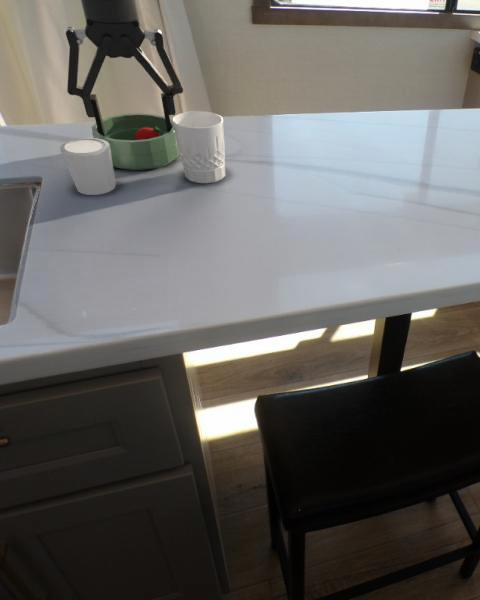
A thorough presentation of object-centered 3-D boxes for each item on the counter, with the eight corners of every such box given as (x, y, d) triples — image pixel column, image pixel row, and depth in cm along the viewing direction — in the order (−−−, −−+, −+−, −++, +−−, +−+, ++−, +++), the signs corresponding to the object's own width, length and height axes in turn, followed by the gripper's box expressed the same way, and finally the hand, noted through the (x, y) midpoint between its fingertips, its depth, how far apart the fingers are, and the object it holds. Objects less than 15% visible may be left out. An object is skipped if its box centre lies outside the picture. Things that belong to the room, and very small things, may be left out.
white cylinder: (126, 190, 85) (116, 149, 81) (81, 200, 81) (68, 158, 77) (110, 174, 89) (100, 134, 84) (66, 183, 85) (53, 142, 80)
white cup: (204, 189, 88) (195, 131, 82) (171, 175, 91) (161, 118, 84) (238, 175, 93) (233, 119, 87) (207, 162, 96) (199, 107, 90)
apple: (124, 139, 92) (141, 117, 91) (139, 141, 96) (155, 121, 95) (143, 157, 92) (159, 135, 91) (157, 158, 97) (173, 138, 96)
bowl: (82, 161, 91) (73, 131, 88) (135, 136, 102) (129, 108, 98) (148, 178, 89) (142, 148, 85) (196, 151, 99) (192, 123, 96)
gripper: (14, -9, 72) (61, 145, 86) (188, -1, 80) (206, 138, 94) (21, -18, 77) (65, 128, 91) (184, -10, 86) (201, 123, 99)
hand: (136, 133), depth 93 cm, fingers open, 10 cm apart
